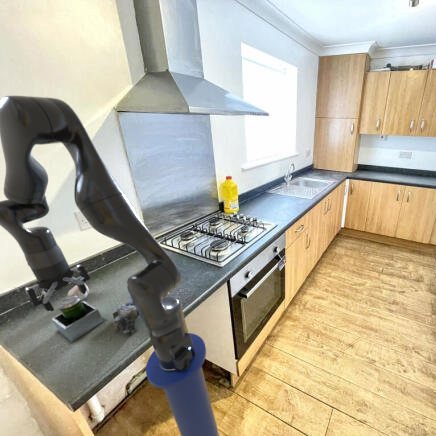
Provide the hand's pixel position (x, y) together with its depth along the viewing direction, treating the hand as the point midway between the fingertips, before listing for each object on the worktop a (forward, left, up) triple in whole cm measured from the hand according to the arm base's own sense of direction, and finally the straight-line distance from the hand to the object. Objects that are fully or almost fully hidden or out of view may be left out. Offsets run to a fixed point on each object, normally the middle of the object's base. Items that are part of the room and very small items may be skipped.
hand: (68, 301), depth 77 cm
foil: (-13, -10, -12) cm, 20 cm away
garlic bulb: (+16, -7, -12) cm, 21 cm away
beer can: (0, 0, -12) cm, 12 cm away
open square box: (0, 0, -12) cm, 12 cm away
